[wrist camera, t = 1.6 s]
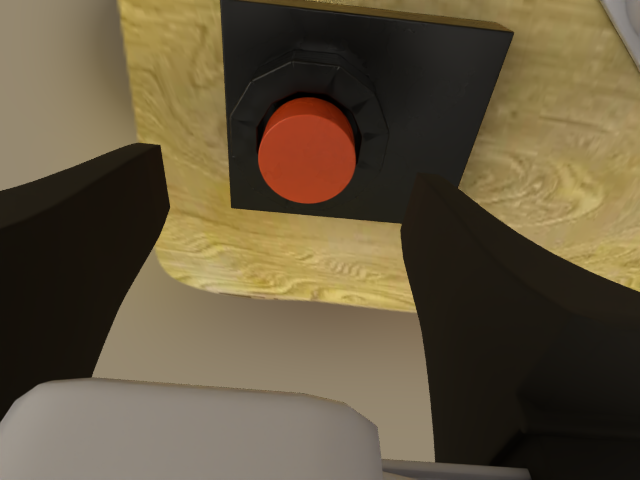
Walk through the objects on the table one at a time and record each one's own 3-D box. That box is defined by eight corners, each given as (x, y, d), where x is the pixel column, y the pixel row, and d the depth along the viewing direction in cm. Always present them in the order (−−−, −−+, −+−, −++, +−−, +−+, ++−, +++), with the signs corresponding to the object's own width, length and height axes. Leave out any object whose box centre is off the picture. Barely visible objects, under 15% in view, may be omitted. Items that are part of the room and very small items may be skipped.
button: (360, 102, 16) (363, 120, 15) (347, 184, 19) (348, 208, 17) (264, 91, 16) (257, 109, 15) (264, 176, 19) (258, 199, 17)
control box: (497, 22, 18) (533, 41, 14) (435, 206, 24) (451, 248, 21) (230, -9, 17) (208, 4, 14) (238, 188, 23) (223, 227, 20)
